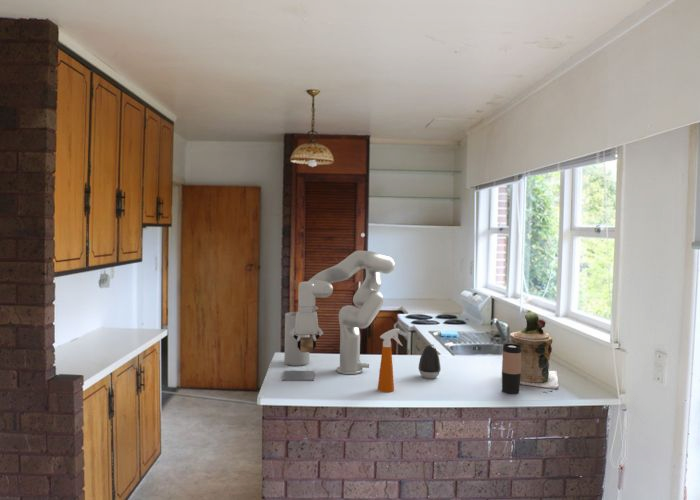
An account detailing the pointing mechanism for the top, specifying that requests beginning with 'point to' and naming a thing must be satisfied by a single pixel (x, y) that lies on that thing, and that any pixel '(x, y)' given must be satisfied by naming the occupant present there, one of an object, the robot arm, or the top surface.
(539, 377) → the cookie jar
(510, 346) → the travel mug
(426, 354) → the black egg ornament
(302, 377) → the slate coaster
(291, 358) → the cylinder vase
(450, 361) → the top surface
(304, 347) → the walnut block
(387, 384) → the spray bottle
